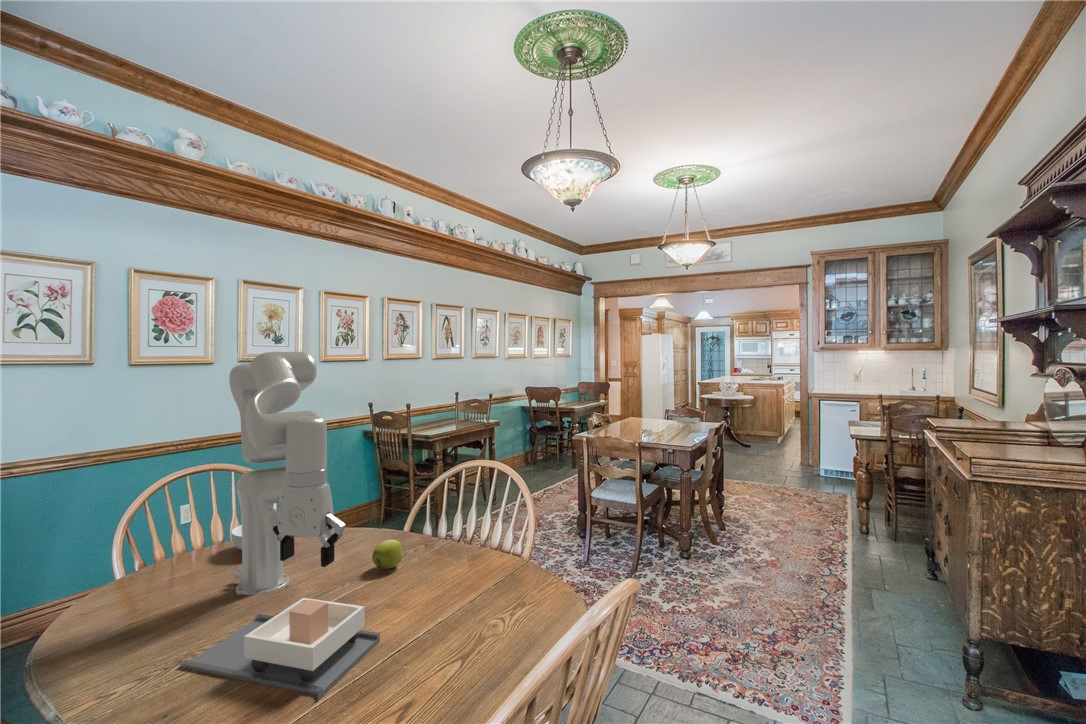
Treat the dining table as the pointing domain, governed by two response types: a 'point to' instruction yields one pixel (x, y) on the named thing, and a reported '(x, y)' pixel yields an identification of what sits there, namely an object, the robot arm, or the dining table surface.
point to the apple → (388, 554)
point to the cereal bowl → (237, 537)
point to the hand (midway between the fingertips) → (307, 561)
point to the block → (308, 622)
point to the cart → (277, 648)
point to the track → (233, 663)
